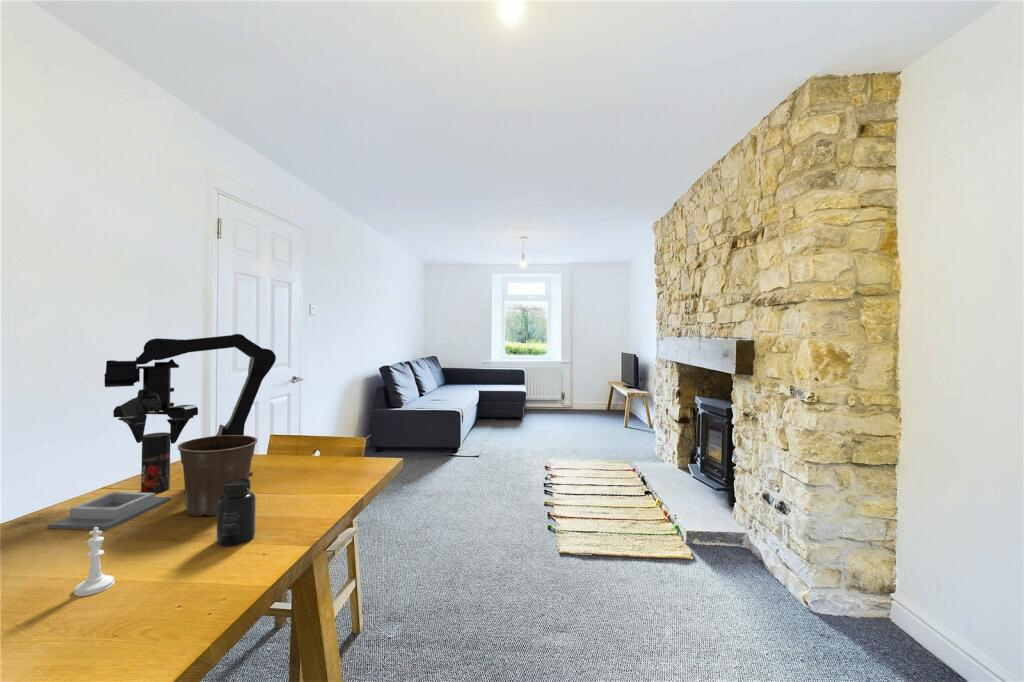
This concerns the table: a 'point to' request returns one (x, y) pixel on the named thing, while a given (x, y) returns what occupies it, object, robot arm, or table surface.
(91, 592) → the chess piece
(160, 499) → the socket board
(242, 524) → the supplement bottle
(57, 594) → the table surface
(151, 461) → the deodorant
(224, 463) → the plant pot
